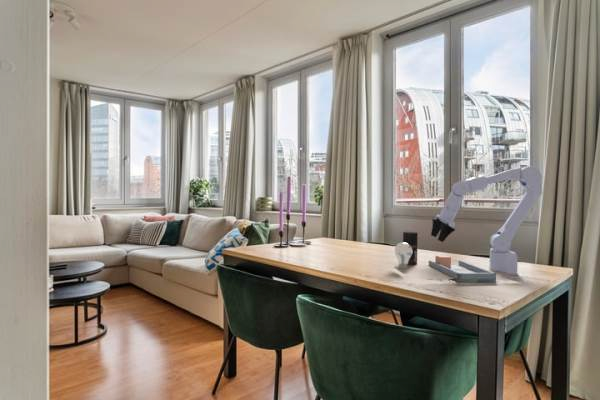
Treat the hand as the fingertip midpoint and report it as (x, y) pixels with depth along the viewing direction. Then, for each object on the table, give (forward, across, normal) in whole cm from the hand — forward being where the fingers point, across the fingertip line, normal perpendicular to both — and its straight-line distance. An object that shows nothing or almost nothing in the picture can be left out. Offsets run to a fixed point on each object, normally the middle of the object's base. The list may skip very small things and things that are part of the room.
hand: (436, 238), depth 159 cm
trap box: (+9, +14, +8) cm, 18 cm away
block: (+10, +6, +5) cm, 12 cm away
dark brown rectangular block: (+16, -2, -5) cm, 17 cm away
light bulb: (+17, +7, -11) cm, 21 cm away
